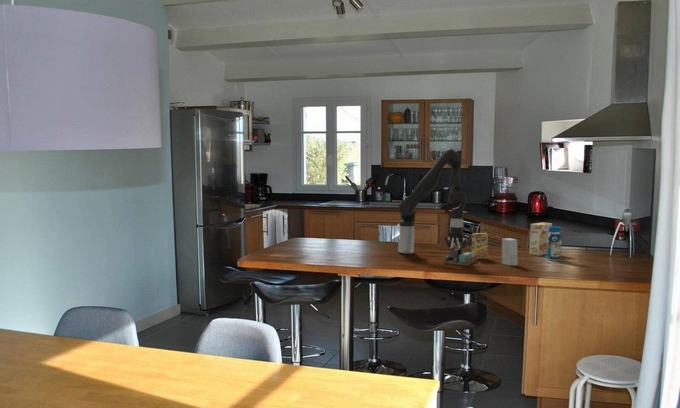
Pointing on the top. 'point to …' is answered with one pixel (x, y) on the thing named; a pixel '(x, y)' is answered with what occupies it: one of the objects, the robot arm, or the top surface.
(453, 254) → the charcoal stick
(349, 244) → the top surface
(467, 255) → the teal stick
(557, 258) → the beverage bottle
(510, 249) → the skincare box
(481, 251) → the candy box
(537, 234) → the coffeecake box
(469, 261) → the comb rack
